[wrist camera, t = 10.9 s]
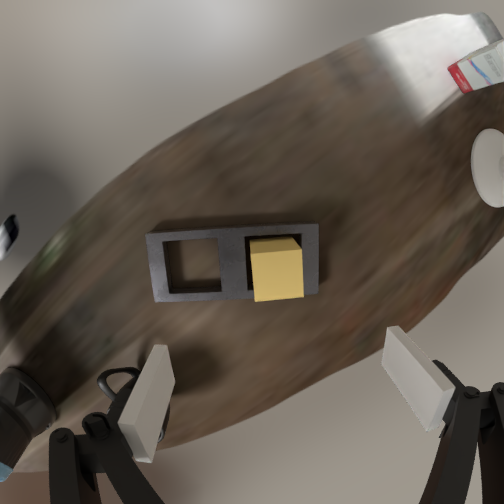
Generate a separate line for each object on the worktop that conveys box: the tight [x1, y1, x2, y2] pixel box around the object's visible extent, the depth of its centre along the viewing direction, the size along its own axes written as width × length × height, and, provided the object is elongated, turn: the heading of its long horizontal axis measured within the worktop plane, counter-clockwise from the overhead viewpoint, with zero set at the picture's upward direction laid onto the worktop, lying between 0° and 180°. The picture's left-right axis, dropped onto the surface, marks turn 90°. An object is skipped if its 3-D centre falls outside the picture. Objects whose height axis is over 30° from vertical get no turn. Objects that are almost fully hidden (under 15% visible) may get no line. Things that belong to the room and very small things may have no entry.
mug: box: [97, 367, 170, 443], centre depth 36 cm, size 8×12×10 cm
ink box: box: [448, 39, 504, 93], centre depth 24 cm, size 9×5×12 cm, turn 127°
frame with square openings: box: [145, 221, 319, 302], centre depth 35 cm, size 20×8×2 cm, turn 93°
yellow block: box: [250, 236, 304, 302], centre depth 33 cm, size 5×5×7 cm
